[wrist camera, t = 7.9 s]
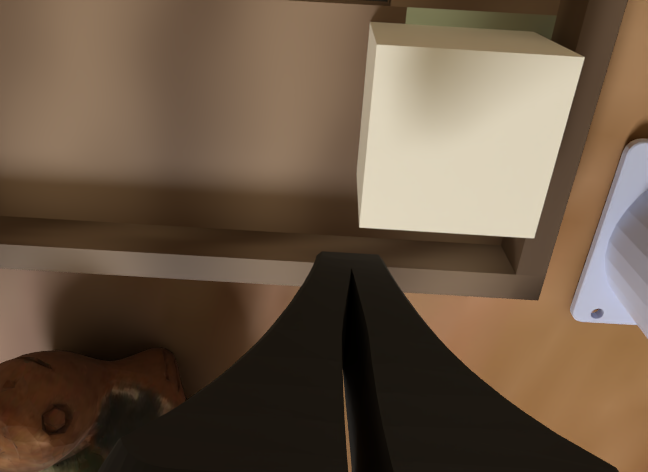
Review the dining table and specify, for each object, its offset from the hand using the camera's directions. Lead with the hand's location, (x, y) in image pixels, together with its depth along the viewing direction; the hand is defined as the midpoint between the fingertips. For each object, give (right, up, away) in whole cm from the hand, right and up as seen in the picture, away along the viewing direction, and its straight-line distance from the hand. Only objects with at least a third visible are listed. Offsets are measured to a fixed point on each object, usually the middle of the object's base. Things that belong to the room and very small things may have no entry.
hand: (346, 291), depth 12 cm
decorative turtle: (-10, -7, +15) cm, 20 cm away
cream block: (+3, +5, +6) cm, 9 cm away
